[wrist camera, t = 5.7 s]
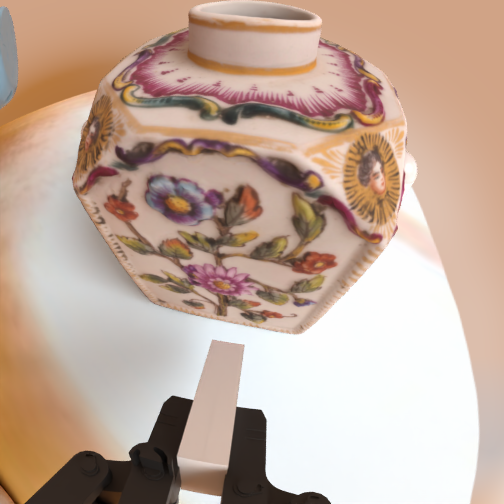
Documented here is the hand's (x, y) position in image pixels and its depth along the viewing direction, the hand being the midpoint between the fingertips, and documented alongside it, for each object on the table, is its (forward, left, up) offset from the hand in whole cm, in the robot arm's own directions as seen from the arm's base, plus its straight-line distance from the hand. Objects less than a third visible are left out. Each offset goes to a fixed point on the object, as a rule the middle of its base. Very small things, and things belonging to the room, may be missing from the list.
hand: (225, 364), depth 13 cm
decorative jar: (-2, +9, -6) cm, 11 cm away
